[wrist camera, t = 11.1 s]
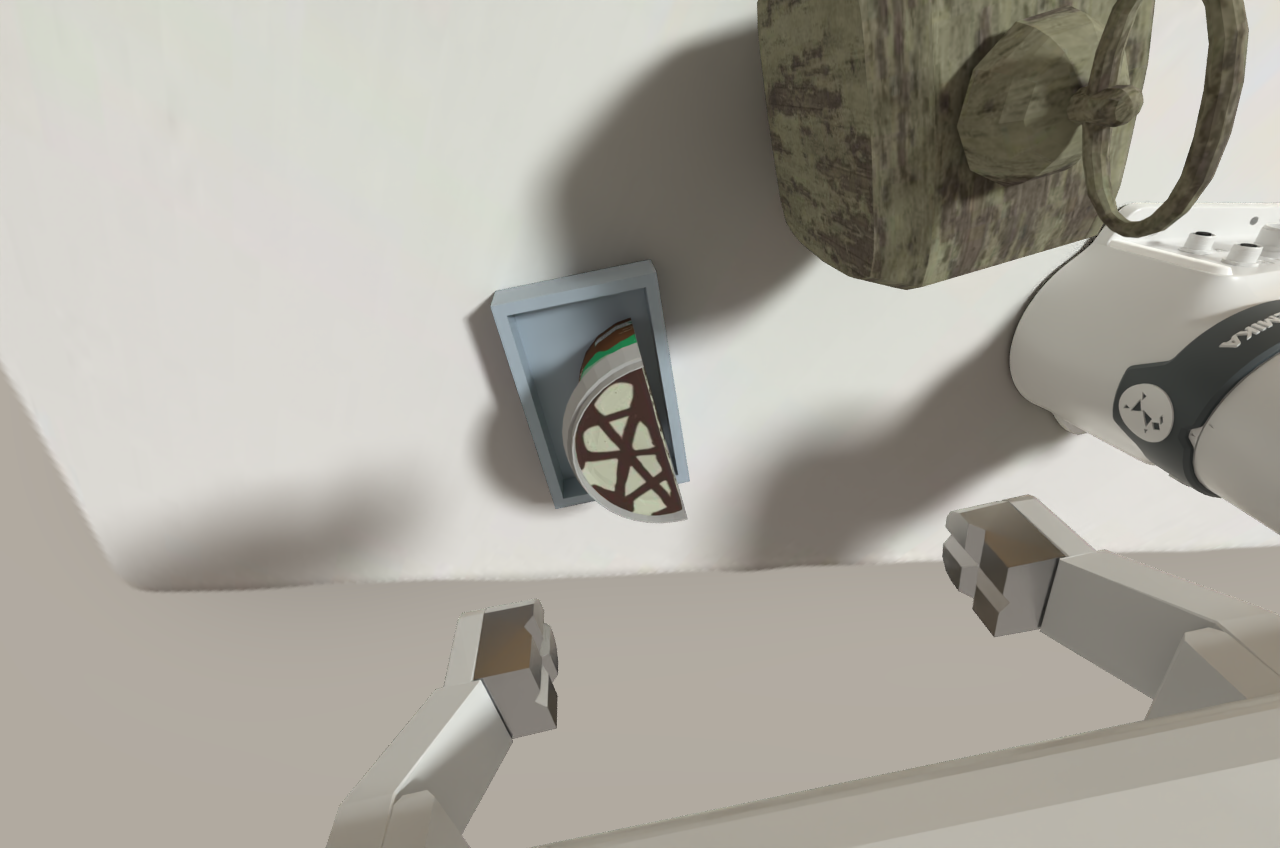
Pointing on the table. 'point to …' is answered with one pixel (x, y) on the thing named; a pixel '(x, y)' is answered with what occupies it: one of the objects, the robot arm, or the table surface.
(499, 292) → the holder tray
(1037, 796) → the robot arm
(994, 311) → the table surface
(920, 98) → the tabletop clock
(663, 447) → the food container
